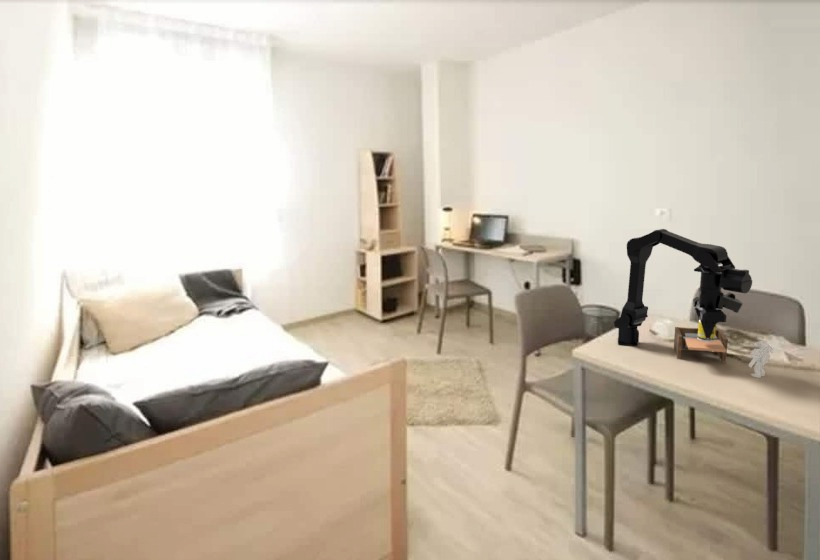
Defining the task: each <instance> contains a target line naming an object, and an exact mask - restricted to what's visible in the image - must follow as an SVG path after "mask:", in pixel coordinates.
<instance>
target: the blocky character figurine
mask: <svg viewBox="0 0 820 560" xmlns="http://www.w3.org/2000/svg"><path fill="white" fill-rule="evenodd" d="M753 346H754V347H755V348H753V349H752V350H750V351H749V356H751V357H752V360H751V361H750V362H749V363H748V367H749V368H752V367H753V366H754V368H753V371H754V373H751V374H750V375H751V377H753V378H757V379H761V378H762V377H764V376H766V375H765V373H766V372H765V369H764V367H765V364H767V363H768V361H769V359H770V358H771V356H770V353H771V354H773V353H774V347H773V346H772V344H770V343H768V342H767V341H765V340H759V341H756V342H755V343H754V344H753Z"/></svg>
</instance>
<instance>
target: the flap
mask: <svg viewBox="0 0 820 560" xmlns="http://www.w3.org/2000/svg"><path fill="white" fill-rule="evenodd" d="M697 336H698V334H694V333H685V337H683V340H684V345H685V347H686V348H689V350H688V351H690V350H701V351H700V352H703V351H715V352H714V353H717V352H726V349H725V347H724V346H723V344H722V339H717V337H716V335H715V340H714V341H713V342H704V341H700V340H698V339H697Z"/></svg>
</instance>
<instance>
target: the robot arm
mask: <svg viewBox="0 0 820 560" xmlns="http://www.w3.org/2000/svg"><path fill="white" fill-rule="evenodd" d="M659 244H661V245H664V246H667V247H670V248H672V249H674V250H676V251H679V252H682V253H684V254H686V255H688V256H690V257H691V258H692V259H693V260H694V261H695V262H697V263H698V264H699V265H698V266H697V267H695V268H693V271H694V272H697V273H700V281H699V288H698V290H697V291H698V294H699V295H698V296H695V297H694V298H693V300H692V305H693V307H695V308H694V311H695V314H696V317H697V319H698V321H699V320H700V321H701V324H702V327H703V330H704V333H705V336H706V338H710V336H711V334H712V332H713V329H714V327H715V325H716V326H717V323H726V322H727V315H726V313H725V312H724V311H723V308H724V309H726V310H730V311H732V312H734V313H739V311H740V310H741V309H742V306H743V305H744V304H743V302H742V301H741V300H739V299H738V298H736V294H735V293H739V294H740V293H741V294H748V293H749V291H750V290H751V289H752V286H753V280H752V276H751V275H750V270H749V269H738V268H736V266H735V264H734V263H733V262H732V260H731V258H730V257H729V255H728V251H727V248H725V247H723V246H720V245H716V244H711V243H710V244H709V243H701V242H697V241H694V240H692V239H689V238H687V237H684V236H681V235H679V234H676V233H674V232H672V231H669V230H668V229H665V228H660V229H655V230H653V231H652V232H650V233H647V234H645V235H642V236H640V237H634V238H631V239H629V240H628V241H627V242H626V254H627V258H628V259H629V262H630V266H629V267H630V268H629V280H628V290H627V300H626V301H625V304H624V305H623V306H622V308H621V313H620V317H618V318H616V320H615V321H613V323H614V327H615V328H616V329H618V333H617V345H619V346H620V345H622V346H634V347H637V346H638V344H639V342H640V341H639V340H640V339H639V338H640V332H639V331H640V330H639V329H638V327H641V326H642V324H643V323H644V321H646V319H647V318H648V316H649V314H648V311H649V307H648V306H646V305H645V304H644V303H643V296H644V285H645V276H646V268H647V267H646V265H647V262H648V260H649V258H650V257H651V255H652V251H653V248H654V247H656V246H658V245H659ZM722 289H723V290H724V291H729V292H728V293H727V294H726V293H725V294H724V292H723V291H722ZM732 292H733V293H732ZM734 292H735V293H734Z"/></svg>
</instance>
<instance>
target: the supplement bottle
mask: <svg viewBox="0 0 820 560" xmlns="http://www.w3.org/2000/svg"><path fill="white" fill-rule="evenodd" d="M697 328H698V336H697V339H698V340H700V341H704V342H713V341H714V340H715V331H716V329H717V324H716V325H715V327H714V329H713V332H712V334H711V336H710V338H706V336H705V333H704V330H703V327H702V324H701V321H700V320H698V326H697Z"/></svg>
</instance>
